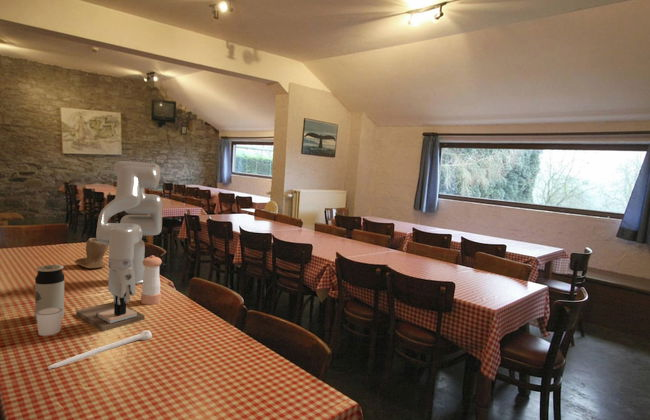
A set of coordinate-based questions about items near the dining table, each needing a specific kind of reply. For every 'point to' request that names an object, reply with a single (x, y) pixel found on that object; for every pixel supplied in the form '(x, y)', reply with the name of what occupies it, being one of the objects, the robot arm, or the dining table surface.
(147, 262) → the salt shaker
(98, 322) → the board
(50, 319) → the white cup
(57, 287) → the travel mug
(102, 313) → the tile
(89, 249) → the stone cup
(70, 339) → the dining table surface
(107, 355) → the dining table surface
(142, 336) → the white nail
